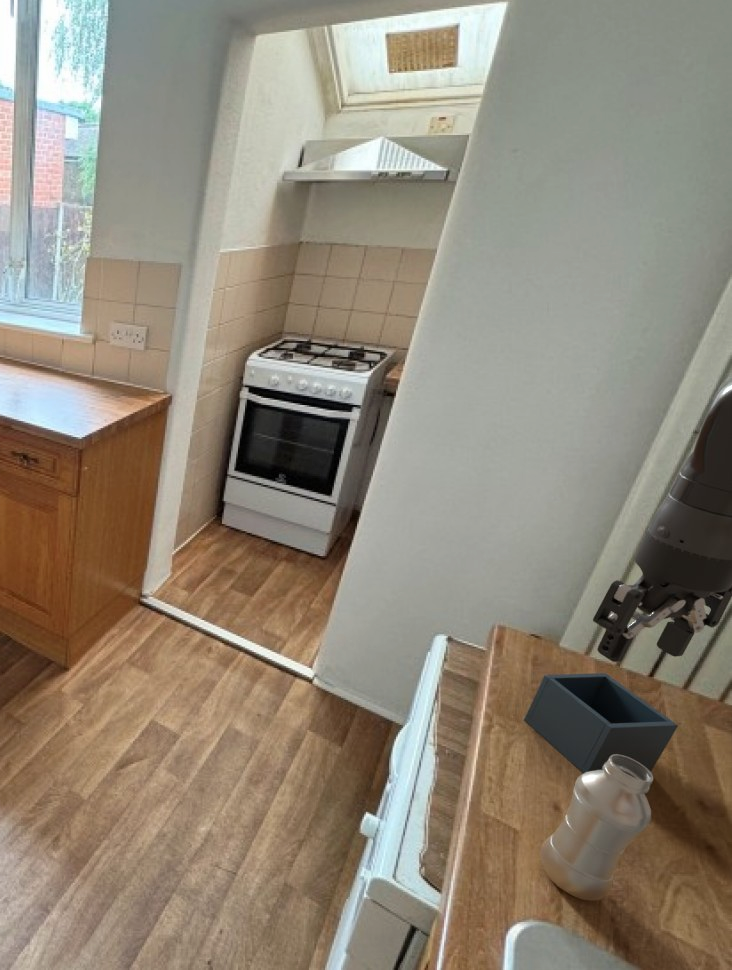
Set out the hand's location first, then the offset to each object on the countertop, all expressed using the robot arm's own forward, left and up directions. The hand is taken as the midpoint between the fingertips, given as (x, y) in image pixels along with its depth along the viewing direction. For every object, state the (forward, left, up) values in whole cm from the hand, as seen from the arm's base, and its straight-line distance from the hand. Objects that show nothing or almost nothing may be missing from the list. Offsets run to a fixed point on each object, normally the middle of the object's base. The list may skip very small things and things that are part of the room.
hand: (638, 654), depth 73 cm
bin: (+12, -18, -30) cm, 37 cm away
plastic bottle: (-7, +5, -30) cm, 31 cm away
